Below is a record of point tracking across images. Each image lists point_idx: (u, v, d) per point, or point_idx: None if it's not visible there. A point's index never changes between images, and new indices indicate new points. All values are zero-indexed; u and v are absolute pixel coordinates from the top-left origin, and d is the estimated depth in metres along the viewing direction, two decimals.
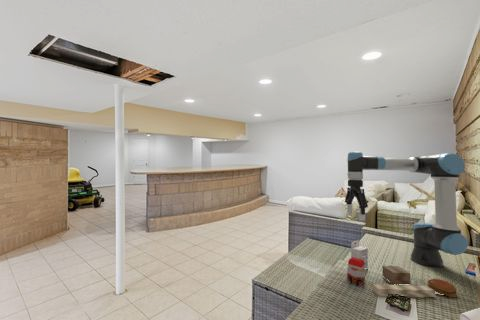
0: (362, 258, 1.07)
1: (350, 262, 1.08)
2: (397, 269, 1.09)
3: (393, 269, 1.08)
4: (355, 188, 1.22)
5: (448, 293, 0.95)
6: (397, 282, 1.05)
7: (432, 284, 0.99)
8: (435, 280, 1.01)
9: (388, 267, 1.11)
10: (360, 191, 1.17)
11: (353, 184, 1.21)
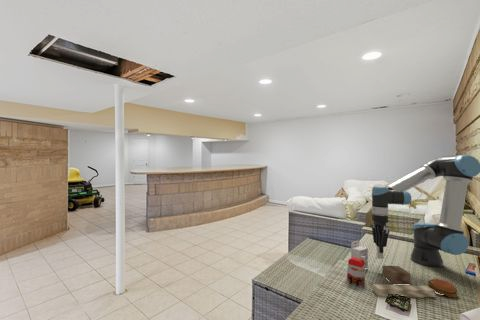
0: (362, 258, 1.07)
1: (350, 262, 1.08)
2: (397, 269, 1.09)
3: (393, 269, 1.08)
4: (380, 224, 1.20)
5: (448, 293, 0.95)
6: (397, 282, 1.05)
7: (432, 284, 0.99)
8: (435, 280, 1.01)
9: (388, 267, 1.11)
10: (385, 232, 1.16)
11: (378, 220, 1.19)
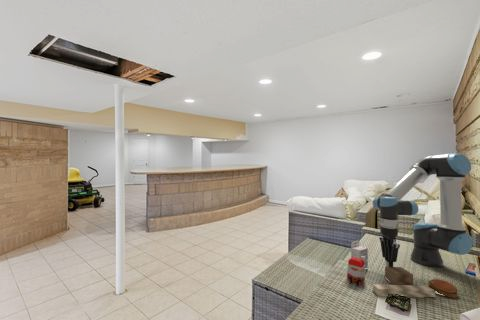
0: (362, 258, 1.07)
1: (350, 262, 1.08)
2: (400, 270, 1.07)
3: (396, 270, 1.06)
4: (389, 237, 1.12)
5: (449, 293, 0.94)
6: (399, 283, 1.03)
7: (433, 284, 0.99)
8: (436, 280, 1.01)
9: (390, 268, 1.09)
10: (395, 247, 1.08)
11: (387, 233, 1.11)
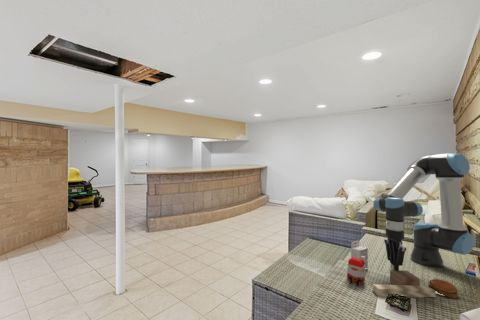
0: (362, 258, 1.07)
1: (350, 262, 1.08)
2: (405, 274, 1.03)
3: (401, 274, 1.02)
4: (395, 240, 1.07)
5: (449, 293, 0.94)
6: None
7: (433, 284, 0.99)
8: (436, 280, 1.01)
9: (396, 272, 1.05)
10: (401, 250, 1.04)
11: (393, 236, 1.07)
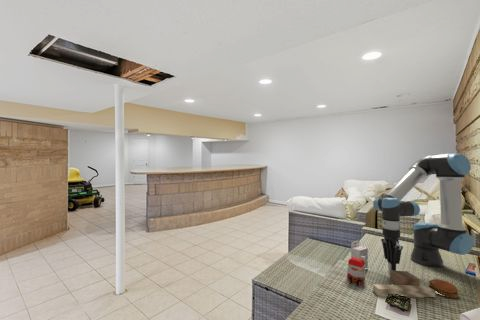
0: (362, 258, 1.07)
1: (350, 262, 1.08)
2: (405, 274, 1.03)
3: (401, 275, 1.02)
4: (392, 239, 1.11)
5: (449, 294, 0.94)
6: None
7: (433, 284, 0.99)
8: (436, 280, 1.01)
9: (396, 272, 1.05)
10: (398, 249, 1.07)
11: (390, 235, 1.10)
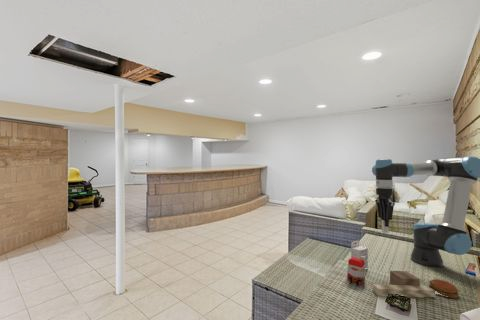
0: (362, 258, 1.07)
1: (350, 262, 1.08)
2: (405, 274, 1.03)
3: (402, 275, 1.02)
4: (385, 197, 1.16)
5: (449, 294, 0.94)
6: None
7: (433, 285, 0.99)
8: (436, 281, 1.01)
9: (396, 272, 1.05)
10: (390, 205, 1.13)
11: (383, 193, 1.16)
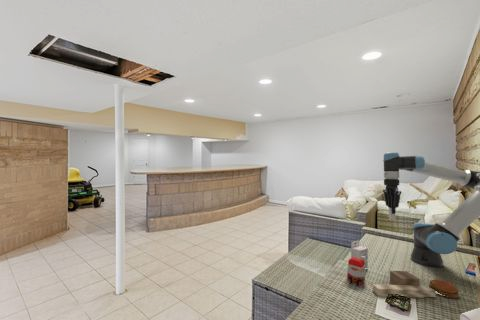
0: (362, 258, 1.07)
1: (350, 262, 1.08)
2: (405, 274, 1.03)
3: (402, 275, 1.02)
4: (392, 187, 1.29)
5: (450, 294, 0.94)
6: None
7: (434, 285, 0.99)
8: (437, 281, 1.01)
9: (396, 272, 1.05)
10: (397, 193, 1.25)
11: (390, 183, 1.28)
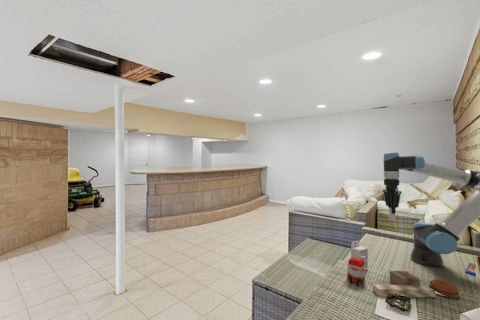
0: (362, 258, 1.07)
1: (350, 262, 1.08)
2: (405, 274, 1.03)
3: (402, 275, 1.02)
4: (392, 187, 1.29)
5: (450, 294, 0.94)
6: None
7: (434, 285, 0.98)
8: (437, 281, 1.01)
9: (396, 272, 1.05)
10: (397, 193, 1.25)
11: (390, 183, 1.28)
